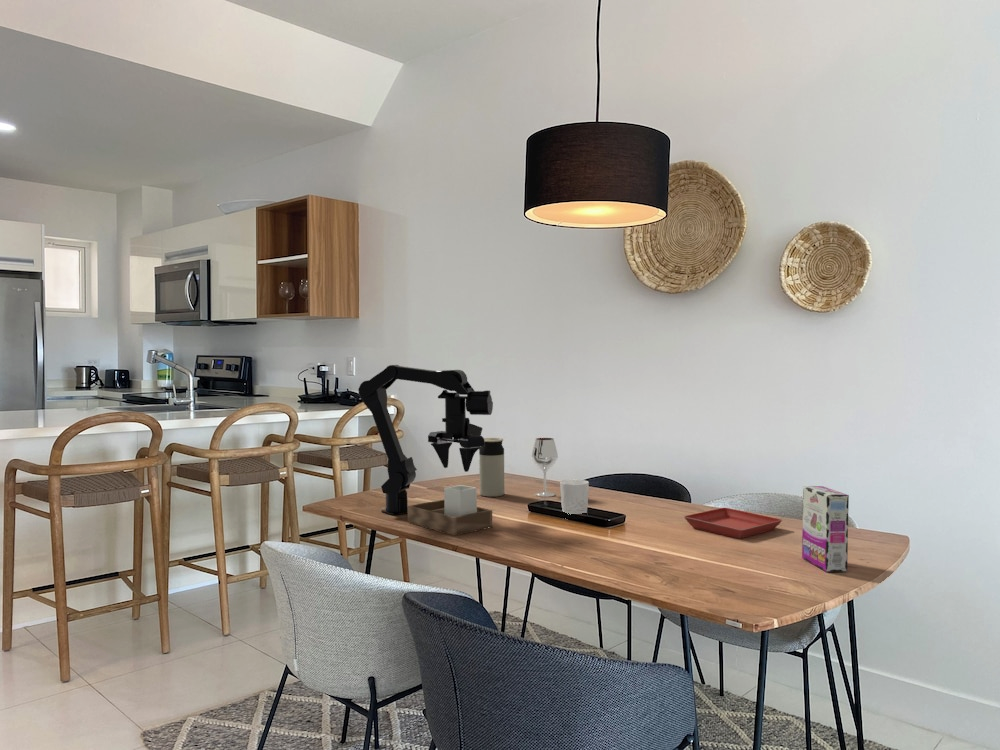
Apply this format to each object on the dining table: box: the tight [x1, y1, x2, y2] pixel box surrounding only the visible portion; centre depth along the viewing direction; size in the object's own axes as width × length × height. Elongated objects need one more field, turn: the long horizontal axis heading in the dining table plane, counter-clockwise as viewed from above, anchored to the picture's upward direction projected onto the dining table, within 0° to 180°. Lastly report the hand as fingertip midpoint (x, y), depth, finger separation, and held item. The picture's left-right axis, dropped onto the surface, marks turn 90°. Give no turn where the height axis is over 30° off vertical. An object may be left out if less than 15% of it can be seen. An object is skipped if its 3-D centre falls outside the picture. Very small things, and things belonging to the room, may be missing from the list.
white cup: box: [559, 478, 590, 520], centre depth 212 cm, size 8×8×10 cm
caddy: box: [443, 484, 478, 517], centre depth 201 cm, size 6×6×10 cm
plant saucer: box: [683, 507, 783, 539], centre depth 199 cm, size 18×18×3 cm
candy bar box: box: [801, 485, 850, 573], centre depth 165 cm, size 11×5×16 cm, turn 5°
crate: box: [407, 499, 493, 536], centre depth 205 cm, size 20×13×5 cm, turn 42°
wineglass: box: [531, 437, 558, 498], centre depth 244 cm, size 8×8×18 cm
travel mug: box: [478, 437, 505, 498], centre depth 245 cm, size 8×8×18 cm
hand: (456, 469), depth 215 cm, fingers open, 9 cm apart
